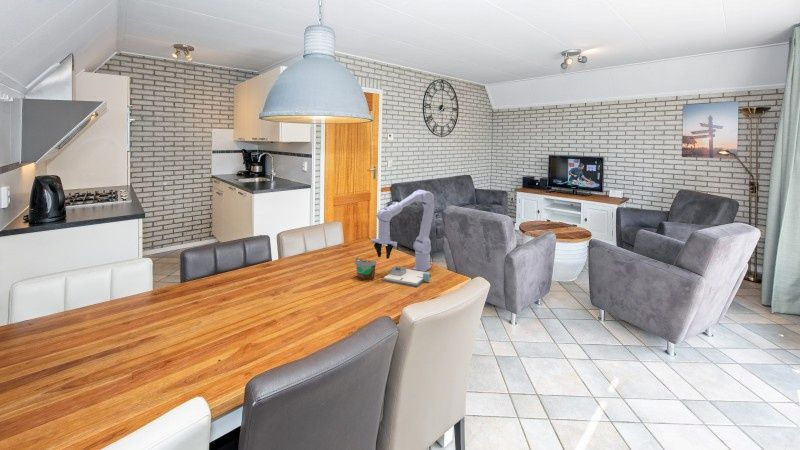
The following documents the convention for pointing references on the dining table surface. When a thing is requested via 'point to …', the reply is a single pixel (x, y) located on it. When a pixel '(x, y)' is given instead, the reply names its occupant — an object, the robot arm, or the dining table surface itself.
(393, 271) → the cover
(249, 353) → the dining table surface
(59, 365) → the dining table surface
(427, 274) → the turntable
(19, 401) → the dining table surface
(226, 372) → the dining table surface
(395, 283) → the susan base
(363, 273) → the food container
